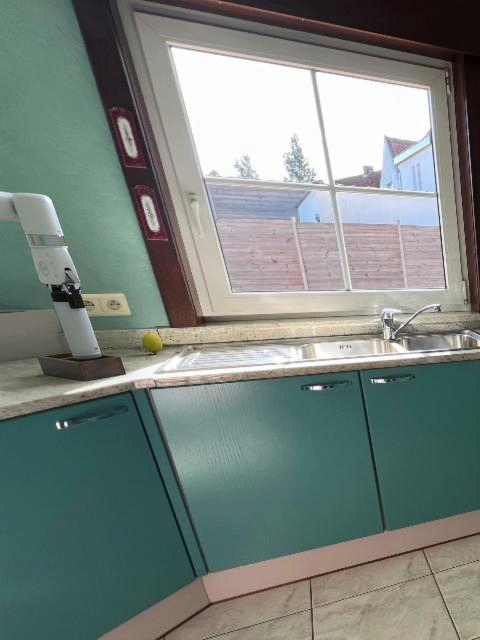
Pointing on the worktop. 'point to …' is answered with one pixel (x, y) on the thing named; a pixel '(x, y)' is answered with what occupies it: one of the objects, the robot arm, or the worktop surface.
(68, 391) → the worktop surface
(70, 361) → the brown divided storage box
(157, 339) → the lemon
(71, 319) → the travel mug
